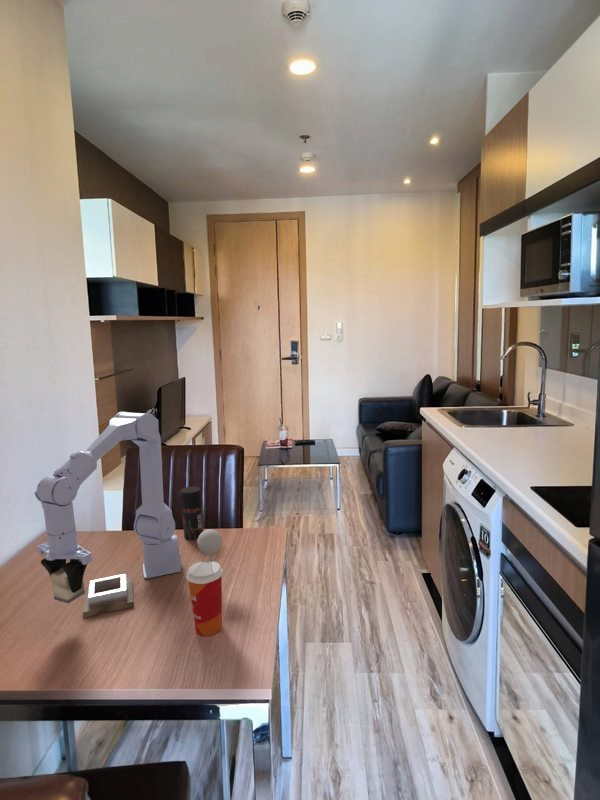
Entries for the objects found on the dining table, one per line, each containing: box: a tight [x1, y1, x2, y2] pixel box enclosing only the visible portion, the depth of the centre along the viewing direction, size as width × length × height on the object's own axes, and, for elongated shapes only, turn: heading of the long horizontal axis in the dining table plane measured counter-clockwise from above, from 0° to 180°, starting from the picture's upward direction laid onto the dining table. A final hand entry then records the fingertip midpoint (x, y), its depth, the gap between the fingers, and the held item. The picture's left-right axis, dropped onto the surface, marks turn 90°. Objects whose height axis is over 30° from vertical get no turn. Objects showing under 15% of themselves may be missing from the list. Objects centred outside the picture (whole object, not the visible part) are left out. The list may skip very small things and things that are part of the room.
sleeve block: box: [50, 568, 85, 604], centre depth 112 cm, size 4×4×6 cm
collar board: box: [82, 573, 135, 618], centre depth 123 cm, size 11×12×4 cm
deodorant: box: [179, 486, 204, 541], centre depth 156 cm, size 6×6×15 cm
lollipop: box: [196, 529, 223, 562], centre depth 125 cm, size 6×6×15 cm
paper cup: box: [185, 560, 224, 637], centre depth 108 cm, size 8×8×14 cm
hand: (68, 588), depth 112 cm, fingers closed on sleeve block, 4 cm apart
